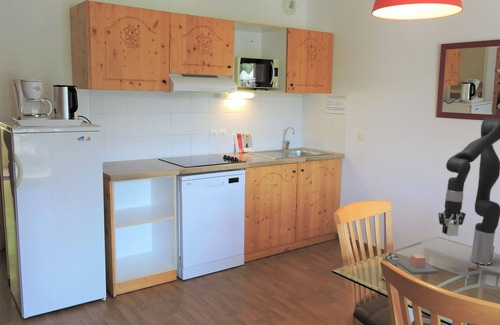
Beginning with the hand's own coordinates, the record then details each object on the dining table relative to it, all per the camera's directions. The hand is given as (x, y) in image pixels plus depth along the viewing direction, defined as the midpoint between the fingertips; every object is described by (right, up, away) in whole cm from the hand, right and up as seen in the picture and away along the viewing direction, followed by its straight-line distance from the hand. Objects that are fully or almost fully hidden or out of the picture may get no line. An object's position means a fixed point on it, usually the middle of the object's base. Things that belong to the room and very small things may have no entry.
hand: (449, 233), depth 214 cm
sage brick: (0, -1, 0) cm, 0 cm away
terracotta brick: (-15, -17, +4) cm, 23 cm away
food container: (-32, -19, -10) cm, 39 cm away
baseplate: (-15, -18, +4) cm, 23 cm away
